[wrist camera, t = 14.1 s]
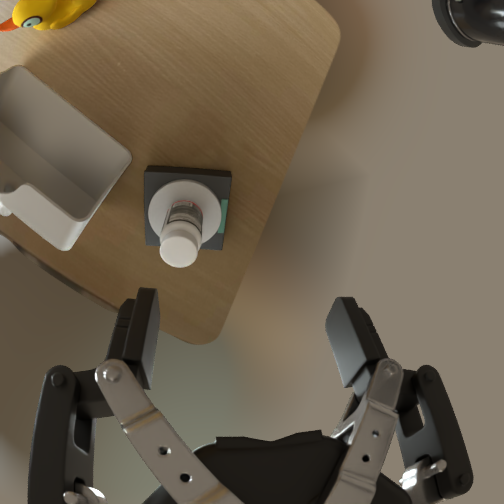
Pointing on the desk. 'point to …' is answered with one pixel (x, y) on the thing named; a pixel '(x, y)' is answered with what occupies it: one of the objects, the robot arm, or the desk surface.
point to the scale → (187, 188)
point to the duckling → (46, 14)
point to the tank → (52, 159)
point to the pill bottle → (181, 233)
